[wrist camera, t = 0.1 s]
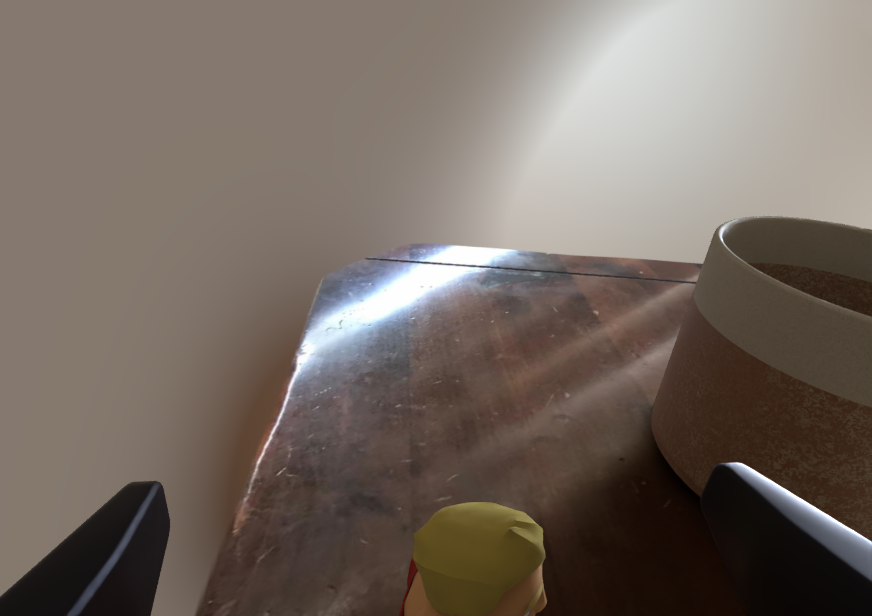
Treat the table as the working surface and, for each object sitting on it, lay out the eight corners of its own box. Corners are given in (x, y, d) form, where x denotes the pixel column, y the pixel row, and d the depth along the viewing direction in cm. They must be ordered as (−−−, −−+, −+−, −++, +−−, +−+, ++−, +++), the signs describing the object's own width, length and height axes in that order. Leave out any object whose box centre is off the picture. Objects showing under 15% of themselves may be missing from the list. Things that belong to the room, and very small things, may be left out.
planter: (999, 538, 30) (1182, 329, 24) (801, 620, 25) (967, 379, 18) (763, 375, 43) (839, 211, 36) (599, 406, 38) (653, 220, 31)
